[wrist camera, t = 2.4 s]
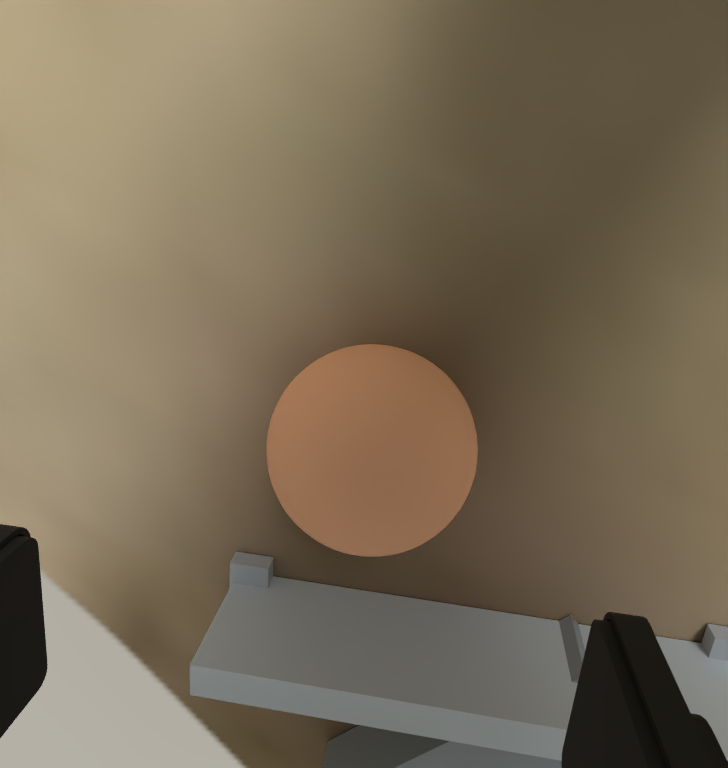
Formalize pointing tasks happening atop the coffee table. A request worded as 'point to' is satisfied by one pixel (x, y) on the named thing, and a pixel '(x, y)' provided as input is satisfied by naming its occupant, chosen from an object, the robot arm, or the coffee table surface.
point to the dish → (435, 756)
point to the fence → (416, 663)
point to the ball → (372, 450)
